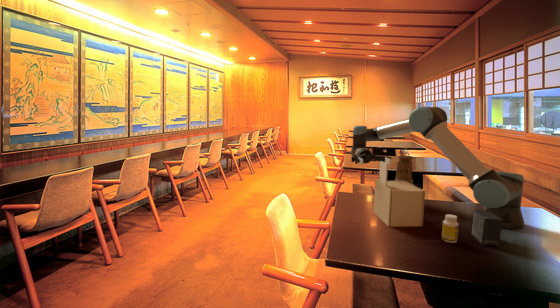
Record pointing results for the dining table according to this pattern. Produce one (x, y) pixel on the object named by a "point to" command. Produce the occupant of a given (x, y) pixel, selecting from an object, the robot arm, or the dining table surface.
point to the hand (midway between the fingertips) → (376, 162)
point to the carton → (406, 204)
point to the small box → (486, 227)
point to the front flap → (382, 195)
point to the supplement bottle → (450, 228)
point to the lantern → (404, 168)
